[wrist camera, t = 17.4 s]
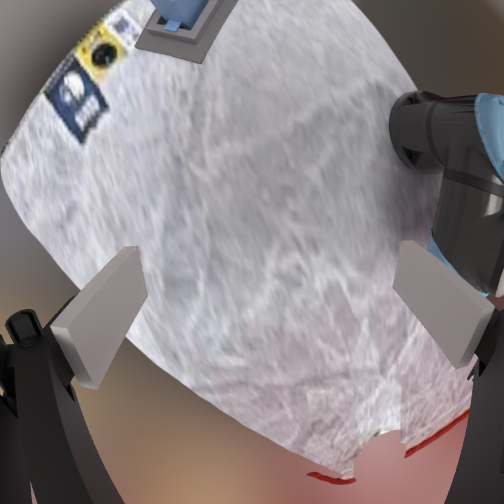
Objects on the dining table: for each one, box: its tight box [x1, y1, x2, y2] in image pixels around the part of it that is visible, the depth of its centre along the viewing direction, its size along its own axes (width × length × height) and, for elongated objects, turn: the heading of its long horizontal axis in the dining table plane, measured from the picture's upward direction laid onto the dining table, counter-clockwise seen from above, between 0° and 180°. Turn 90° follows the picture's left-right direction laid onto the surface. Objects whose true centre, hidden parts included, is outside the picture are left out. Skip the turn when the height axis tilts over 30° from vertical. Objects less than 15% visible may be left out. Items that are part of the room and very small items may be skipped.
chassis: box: [134, 0, 238, 64], centre depth 29 cm, size 16×12×4 cm
